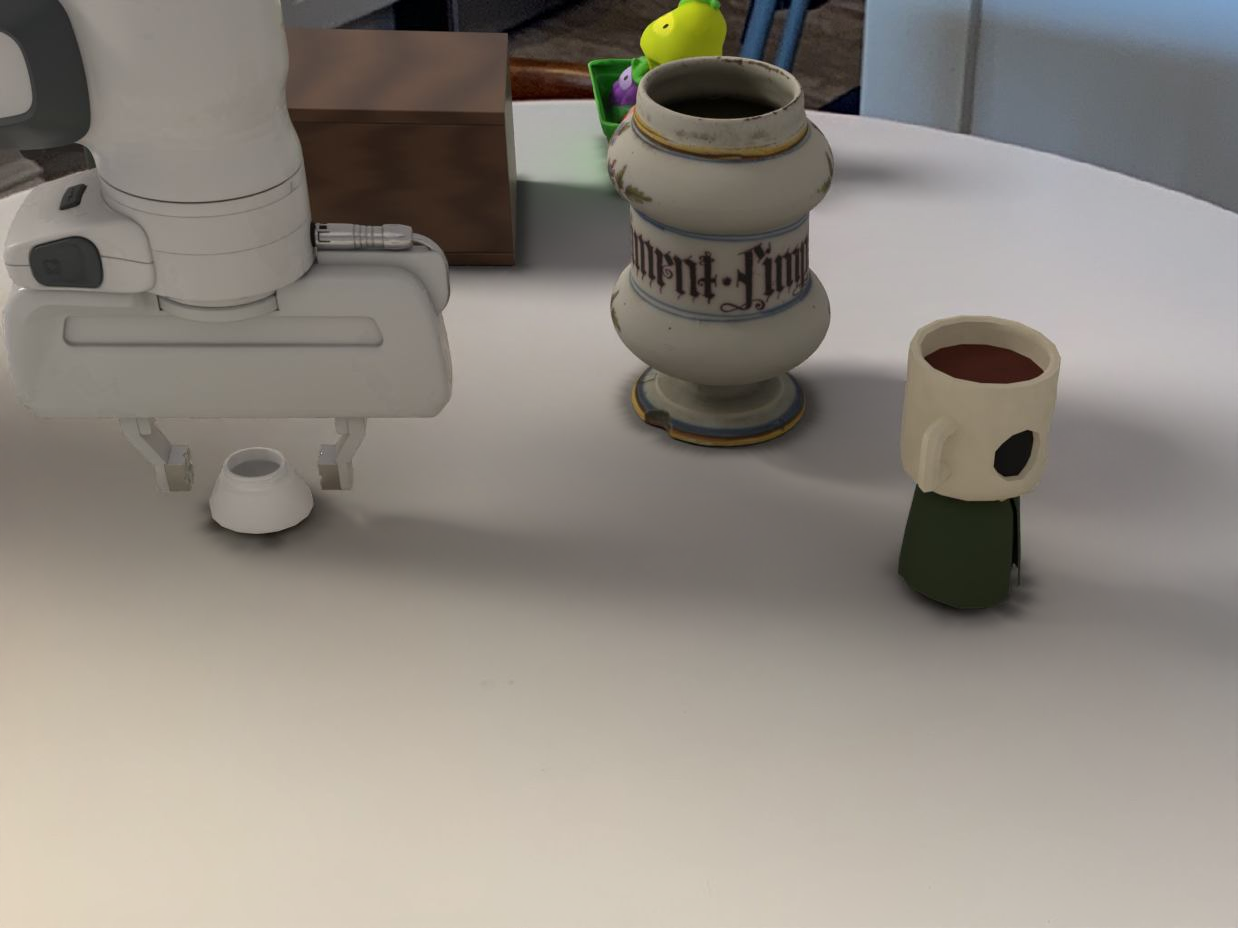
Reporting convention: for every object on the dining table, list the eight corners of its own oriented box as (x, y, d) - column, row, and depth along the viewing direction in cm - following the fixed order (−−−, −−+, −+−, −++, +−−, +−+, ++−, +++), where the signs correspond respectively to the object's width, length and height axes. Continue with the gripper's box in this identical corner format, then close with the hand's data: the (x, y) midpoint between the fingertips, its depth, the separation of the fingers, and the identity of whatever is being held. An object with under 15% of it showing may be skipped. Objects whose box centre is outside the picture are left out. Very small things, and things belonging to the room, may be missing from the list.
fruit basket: (588, 131, 134) (582, -37, 126) (712, 129, 136) (715, -37, 128) (603, 201, 126) (598, 26, 118) (735, 199, 128) (739, 26, 120)
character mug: (972, 660, 92) (1004, 422, 83) (844, 611, 94) (862, 375, 85) (1064, 554, 99) (1102, 326, 90) (943, 512, 101) (969, 284, 93)
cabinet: (273, 263, 117) (248, 107, 110) (292, 176, 126) (271, 27, 119) (514, 265, 119) (504, 112, 112) (516, 179, 128) (507, 32, 121)
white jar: (194, 506, 97) (243, 551, 95) (184, 456, 95) (233, 501, 93) (282, 476, 100) (332, 519, 97) (274, 426, 98) (324, 469, 95)
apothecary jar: (567, 405, 107) (553, 82, 94) (704, 329, 114) (707, 21, 102) (735, 482, 102) (743, 154, 90) (866, 399, 110) (889, 84, 97)
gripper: (447, 195, 90) (469, 450, 100) (-6, 190, 87) (61, 452, 97) (442, 256, 86) (466, 517, 95) (-36, 252, 83) (37, 521, 92)
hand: (258, 485), depth 96 cm, fingers open, 6 cm apart
